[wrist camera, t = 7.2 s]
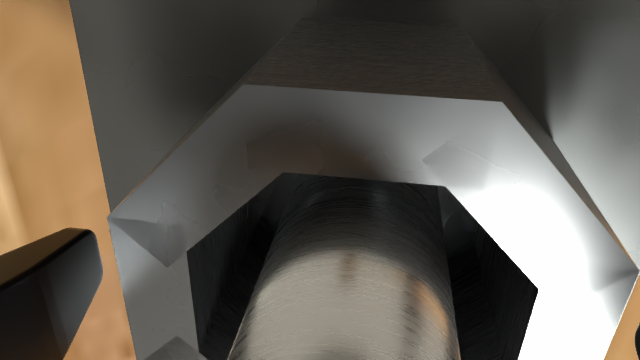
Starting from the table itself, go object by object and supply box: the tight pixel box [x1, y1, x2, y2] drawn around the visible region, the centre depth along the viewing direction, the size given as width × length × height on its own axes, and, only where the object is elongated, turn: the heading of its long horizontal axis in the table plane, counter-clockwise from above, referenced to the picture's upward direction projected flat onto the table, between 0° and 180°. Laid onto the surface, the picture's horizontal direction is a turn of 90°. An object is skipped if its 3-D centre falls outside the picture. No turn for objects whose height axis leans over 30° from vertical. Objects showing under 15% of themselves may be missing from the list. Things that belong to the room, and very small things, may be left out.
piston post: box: [69, 0, 640, 360], centre depth 9 cm, size 12×12×7 cm
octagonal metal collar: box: [107, 18, 640, 360], centre depth 9 cm, size 7×7×4 cm
